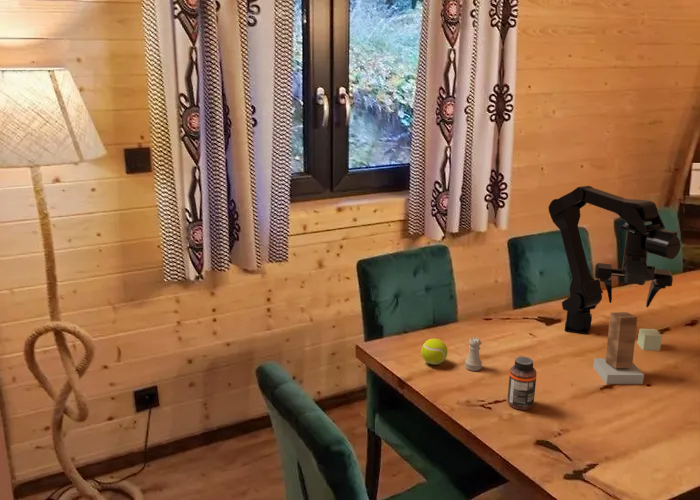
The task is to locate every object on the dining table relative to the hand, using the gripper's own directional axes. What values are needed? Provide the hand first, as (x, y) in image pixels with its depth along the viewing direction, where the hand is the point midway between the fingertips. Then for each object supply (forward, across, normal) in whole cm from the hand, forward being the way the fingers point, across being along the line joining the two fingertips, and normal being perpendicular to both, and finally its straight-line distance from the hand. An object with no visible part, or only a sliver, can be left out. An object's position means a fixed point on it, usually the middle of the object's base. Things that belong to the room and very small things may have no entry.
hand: (628, 304), depth 183 cm
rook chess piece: (+13, -37, -25) cm, 47 cm away
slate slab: (+14, -2, -17) cm, 22 cm away
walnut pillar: (+10, -2, -17) cm, 20 cm away
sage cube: (+13, +7, +4) cm, 15 cm away
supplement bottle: (+13, -24, -40) cm, 48 cm away
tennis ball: (+13, -47, -26) cm, 55 cm away
